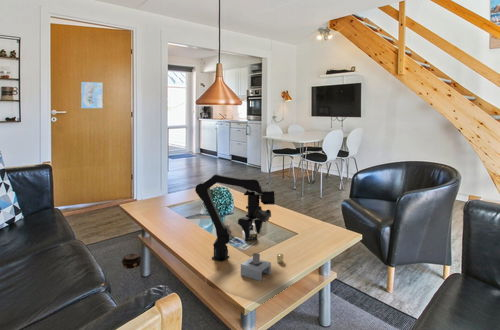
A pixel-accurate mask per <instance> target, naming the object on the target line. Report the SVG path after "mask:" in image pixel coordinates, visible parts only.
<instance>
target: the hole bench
mask: <svg viewBox="0 0 500 330" xmlns="http://www.w3.org/2000/svg"><path fill="white" fill-rule="evenodd" d="M271 267H272V262H270V261H267V260H262V259H260V265H259V266H254V265H253V257H250V258H249V259H247V260H245V261H244V262H242V263H240V276H243V277H246V278H249V279H252V280H255V281H259V282H261V281H263V277H262V276H263V274H266V275H271V273H272V268H271ZM262 273H263V274H262Z"/></svg>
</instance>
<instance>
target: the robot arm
mask: <svg viewBox="0 0 500 330" xmlns="http://www.w3.org/2000/svg"><path fill="white" fill-rule="evenodd" d="M216 184H222V185H227V186H229V185H230V186H236V187H240V188H243V189H244V190H246V191H245V192H244V194H243V196H247V205H246V206H245V210H246V209H247V214H245V216H243V217H239V218H238V219H237V225H239V226H240V227H241V229H242V231H244V233H245V235H246V237H247V238H249V237H250V228H251V227H252V226H253V225H252V223H253V224H255V232H256V233H257V235H259V234H260V232H261V229H262V226H263V223H266V222H269V220H270V218H272V211H271V210H270V209H266V210H263V209H262V206H261V205H260V203H262V205H264V206H265V205H271V206H275V202H276V201H275V200H276V197H275V190H264V189H263V188H262V186H261V184H260V181H259V179H258V178H256V177H248V178H241V177H234V176H229V175H224V174H223V175H222V174H218V173H215V174H214V175H212V176H211V177H210V178H209V179H207V180H206V181H202V182H200V183H198V184H197V185H196V186H195V187H194V188H195V193H196V195H197V196H198V197H199V199H200V200H201V201H202V202H203V203H204V205H205V208H206V210H207V212H208V214H209V216H210V219H211V221H212V223H213V225H214V227H215V234H216V239H215V241H214V243H213V244H212V246H213V256H212V257H211V259H213V260H216V261H221V262H222V261H225V260H227V259H228V258H230V255H229V249H228V244H229V242H230V240H231V238H232V231H231V229H230V227H229V226H230V225H225V224H224V222H223V220H222V218H221V216H220V214H219V211H218V209H217V207H216V204H215V202H214V200H213V197H212V191H211V187H213V186H214V185H216Z"/></svg>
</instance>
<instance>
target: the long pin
mask: <svg viewBox="0 0 500 330" xmlns="http://www.w3.org/2000/svg"><path fill="white" fill-rule="evenodd" d="M260 256H261V255H260V253H259V252H255V253H253V254H252V258H253V265H254V266H259V265H260V260H261V259H260V258H261V257H260Z"/></svg>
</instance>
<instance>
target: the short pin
mask: <svg viewBox="0 0 500 330" xmlns="http://www.w3.org/2000/svg"><path fill="white" fill-rule="evenodd" d="M276 262H277V264H283V263H284V254H283V253H278V254H276Z"/></svg>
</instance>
